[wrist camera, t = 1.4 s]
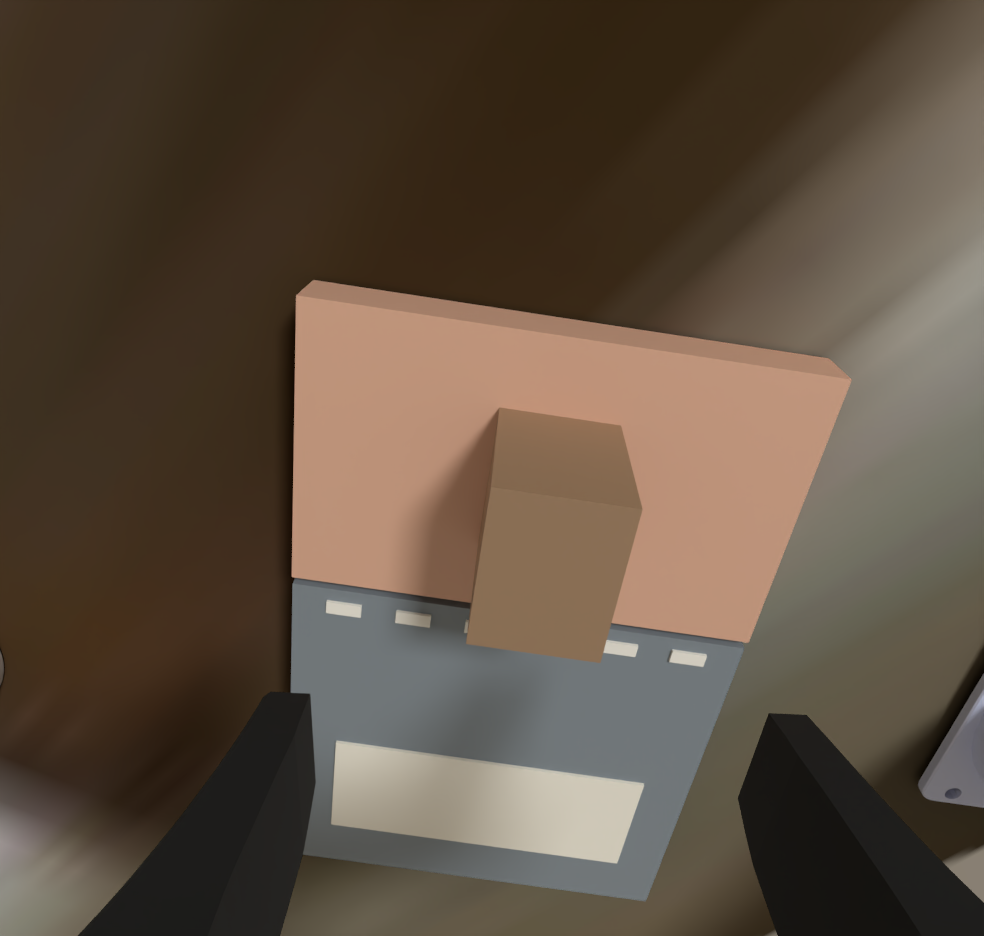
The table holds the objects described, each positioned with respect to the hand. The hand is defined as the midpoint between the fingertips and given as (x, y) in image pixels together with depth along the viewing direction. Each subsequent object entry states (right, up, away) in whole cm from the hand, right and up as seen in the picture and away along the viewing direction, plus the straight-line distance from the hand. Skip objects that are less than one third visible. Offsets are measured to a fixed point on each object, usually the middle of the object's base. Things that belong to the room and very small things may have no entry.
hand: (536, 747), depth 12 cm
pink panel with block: (+1, +5, +9) cm, 10 cm away
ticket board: (-1, -4, +13) cm, 14 cm away
